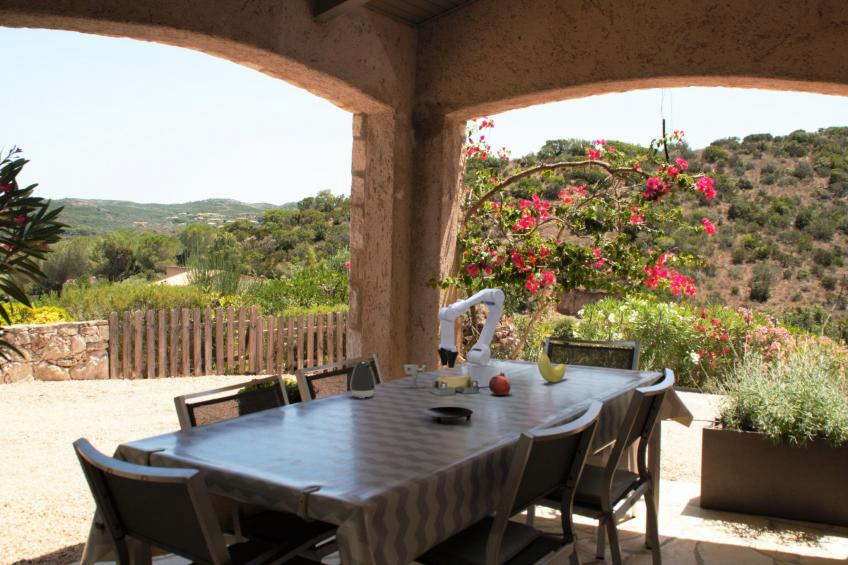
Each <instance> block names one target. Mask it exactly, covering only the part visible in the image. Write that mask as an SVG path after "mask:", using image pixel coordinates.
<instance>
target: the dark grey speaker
mask: <svg viewBox="0 0 848 565" xmlns="http://www.w3.org/2000/svg"><path fill="white" fill-rule="evenodd" d="M371 366H372V364H371V363H369V362H368V361H367V360H363V359H362V360H358V361H357V363H356V364H355V365H354V368H353V370H352V374H351V378H350V384H349V387H350V388H349V389H350V392H351V394H352V396H354V398H356V397H362V398H361V399H364V398H363V397H369V398H370V397H372V395H373V394H374V393H375V389H376V381H375V377H374V376H375V375H374V373H373V369H372V367H371Z"/></svg>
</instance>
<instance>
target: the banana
mask: <svg viewBox="0 0 848 565" xmlns="http://www.w3.org/2000/svg"><path fill="white" fill-rule="evenodd" d="M546 346H547V345H546V342H545V341H544V340H542V341H541V347H542V351H541V354H540V356H539V357H538V362H537V364H538V372H539V374H540V376H541V377H542V378H543V380H545V381H546V382H549V383H559V382H560V381H561V380H562V379H563V378H564V377H565V375H566V369H567V368H566V364H564V363H561V364H559V365H557V366H556V367H553V365H552V363H551V360H550V358H549V356H548V354H547V353H546Z"/></svg>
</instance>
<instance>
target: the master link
mask: <svg viewBox="0 0 848 565" xmlns="http://www.w3.org/2000/svg"><path fill="white" fill-rule="evenodd" d="M437 380H438V387H439V383H447V388H455V387H467V386H469V381H471V376H470V375H468V374H465V375H461V376H460V375H459V376H458V375H457V376H446V377H445V376H440V377H437Z"/></svg>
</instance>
